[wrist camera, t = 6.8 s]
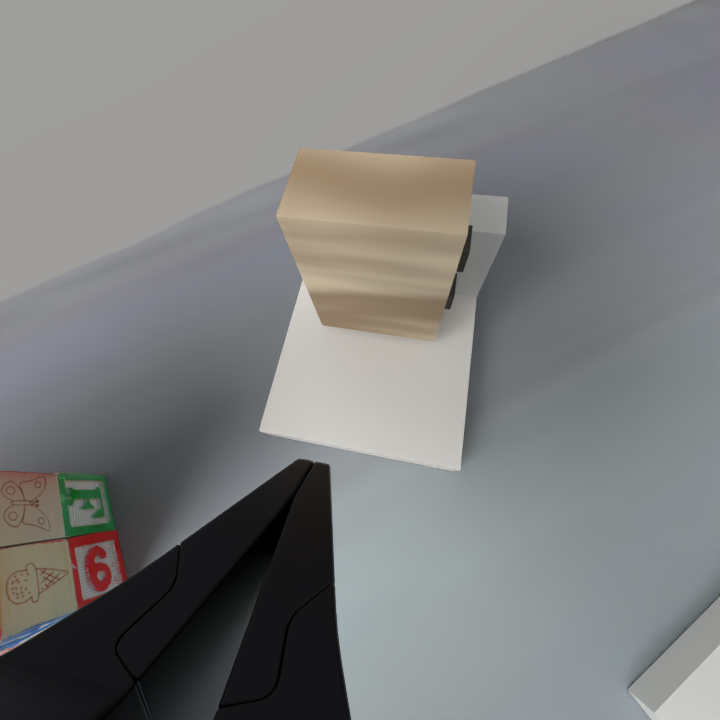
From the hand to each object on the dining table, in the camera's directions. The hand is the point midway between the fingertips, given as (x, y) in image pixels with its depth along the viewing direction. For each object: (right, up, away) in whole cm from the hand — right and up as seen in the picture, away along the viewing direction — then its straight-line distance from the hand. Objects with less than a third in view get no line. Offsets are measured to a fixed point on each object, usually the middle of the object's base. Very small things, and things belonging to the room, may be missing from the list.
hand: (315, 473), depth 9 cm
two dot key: (+3, +6, +10) cm, 11 cm away
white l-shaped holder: (+2, +3, +11) cm, 12 cm away
